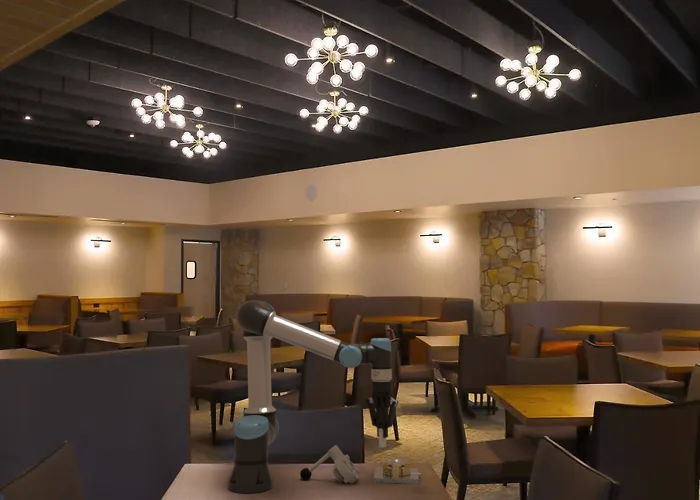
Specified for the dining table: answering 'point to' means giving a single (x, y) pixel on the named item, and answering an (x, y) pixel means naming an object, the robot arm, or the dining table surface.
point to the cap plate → (408, 479)
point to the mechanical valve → (342, 467)
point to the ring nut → (396, 469)
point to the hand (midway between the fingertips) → (382, 446)
